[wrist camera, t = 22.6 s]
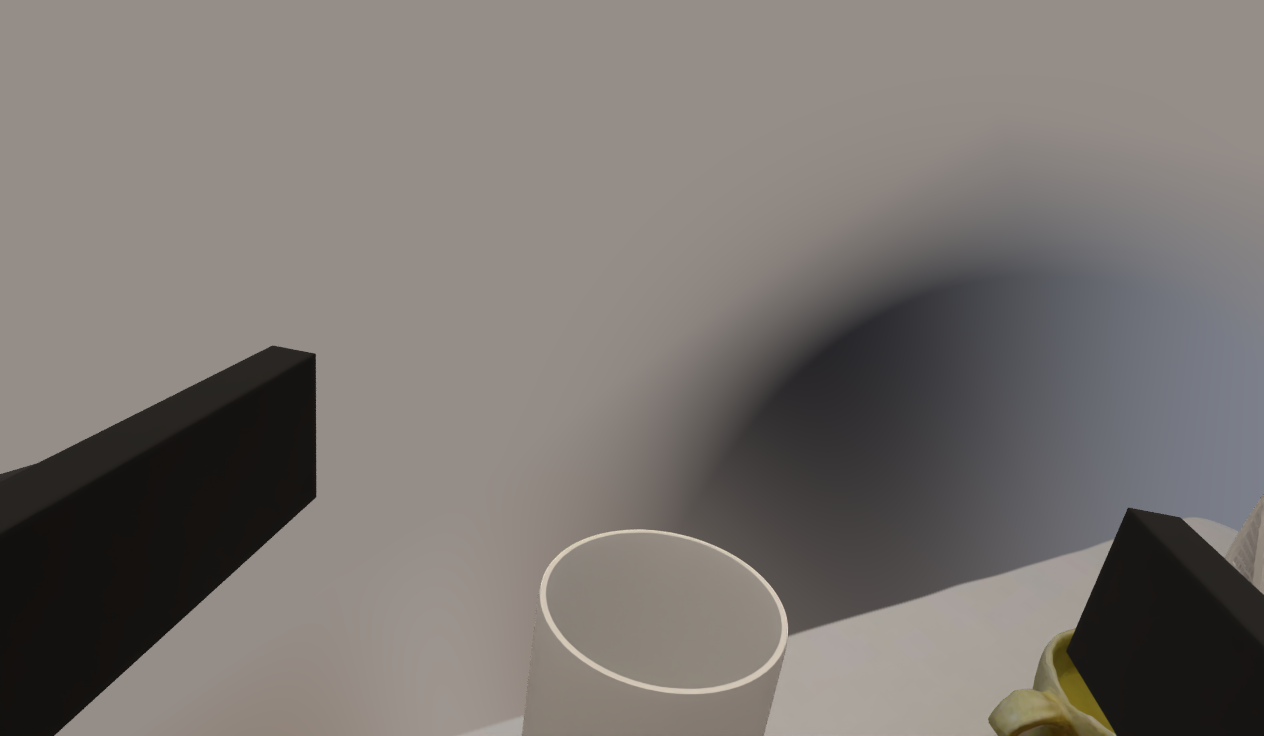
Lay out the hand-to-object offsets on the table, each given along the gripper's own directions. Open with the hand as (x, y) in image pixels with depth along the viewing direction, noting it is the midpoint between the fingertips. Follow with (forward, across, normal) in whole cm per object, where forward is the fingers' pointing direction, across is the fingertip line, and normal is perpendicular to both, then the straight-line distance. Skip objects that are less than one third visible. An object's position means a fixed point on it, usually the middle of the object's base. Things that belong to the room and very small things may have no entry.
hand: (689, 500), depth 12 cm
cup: (+10, 0, -25) cm, 27 cm away
